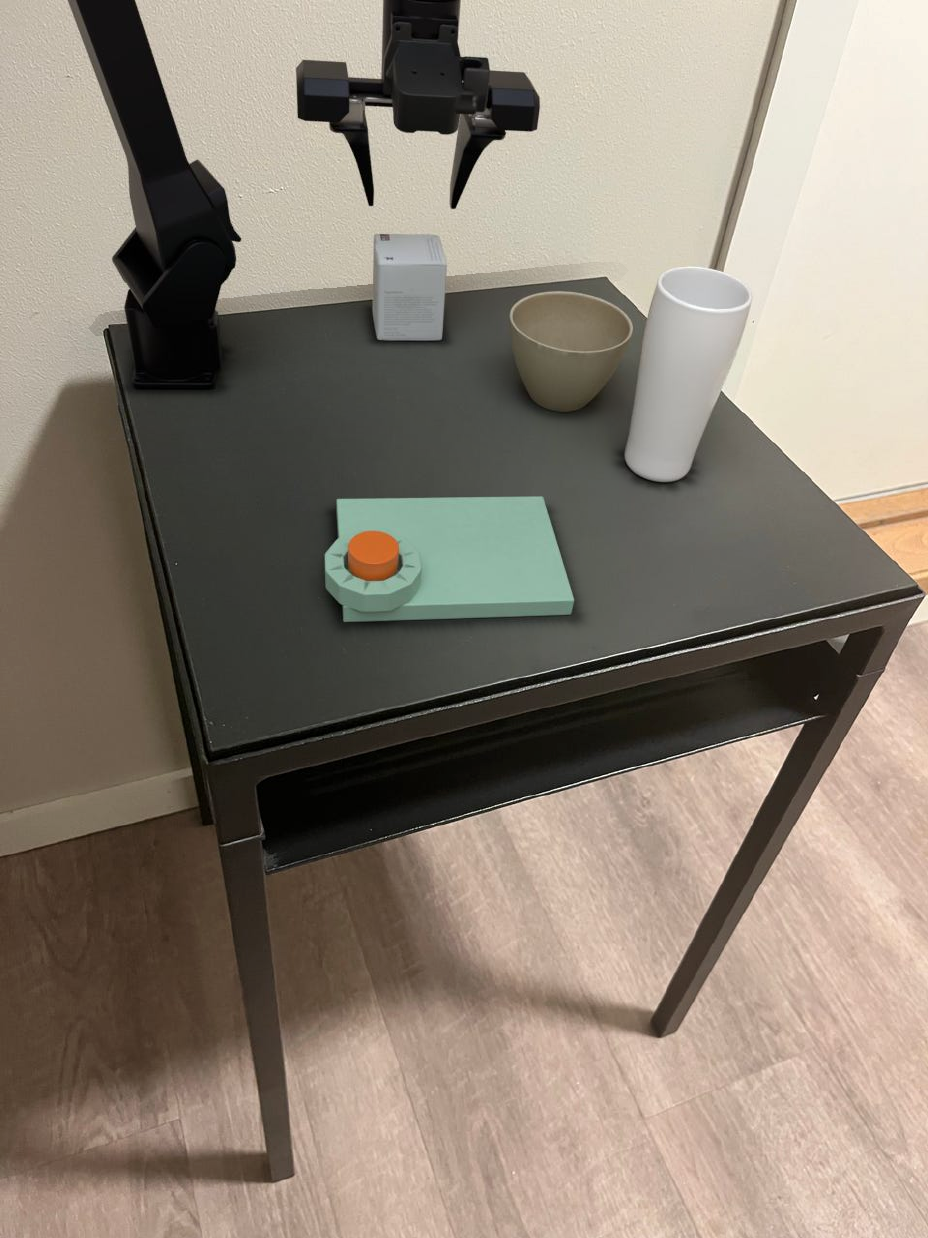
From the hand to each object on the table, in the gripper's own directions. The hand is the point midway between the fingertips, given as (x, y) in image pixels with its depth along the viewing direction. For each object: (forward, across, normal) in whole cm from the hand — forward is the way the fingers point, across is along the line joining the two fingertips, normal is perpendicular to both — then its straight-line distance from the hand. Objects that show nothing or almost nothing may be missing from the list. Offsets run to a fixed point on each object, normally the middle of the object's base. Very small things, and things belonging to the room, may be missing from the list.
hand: (411, 205), depth 82 cm
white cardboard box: (+11, 0, 0) cm, 11 cm away
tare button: (+8, -6, -36) cm, 37 cm away
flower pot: (+11, +12, -12) cm, 20 cm away
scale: (+11, 0, -33) cm, 35 cm away
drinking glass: (+11, +18, -22) cm, 31 cm away
